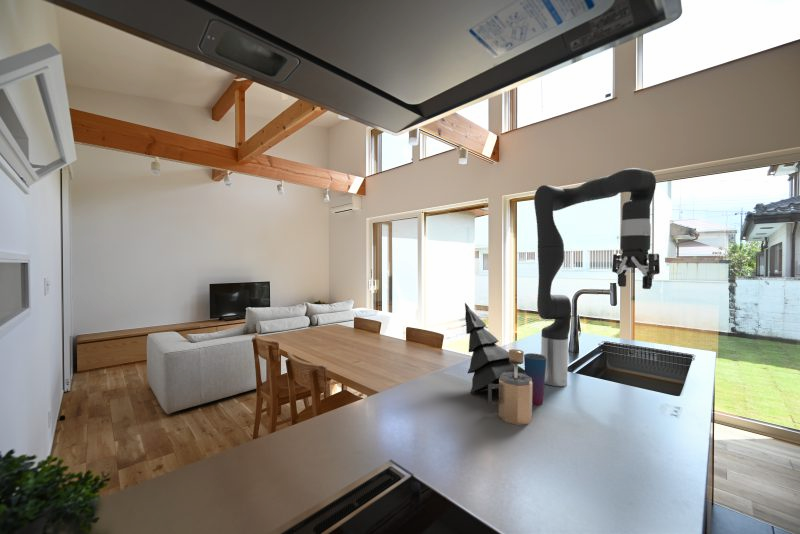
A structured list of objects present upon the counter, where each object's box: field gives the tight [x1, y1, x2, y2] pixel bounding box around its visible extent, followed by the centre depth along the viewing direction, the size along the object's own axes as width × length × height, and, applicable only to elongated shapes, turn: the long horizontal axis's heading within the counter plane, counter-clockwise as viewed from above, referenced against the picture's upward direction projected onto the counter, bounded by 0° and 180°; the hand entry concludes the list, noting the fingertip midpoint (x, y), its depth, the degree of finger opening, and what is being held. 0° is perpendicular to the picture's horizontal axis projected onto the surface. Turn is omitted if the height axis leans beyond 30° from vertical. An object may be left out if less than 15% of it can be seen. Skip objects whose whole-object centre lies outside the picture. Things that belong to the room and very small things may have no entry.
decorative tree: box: [464, 302, 525, 398], centre depth 121 cm, size 15×15×35 cm
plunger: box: [508, 348, 525, 378], centre depth 98 cm, size 4×4×18 cm
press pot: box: [487, 372, 533, 426], centre depth 98 cm, size 9×11×12 cm
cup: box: [523, 352, 547, 406], centre depth 110 cm, size 7×7×15 cm
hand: (633, 287), depth 103 cm, fingers open, 8 cm apart
